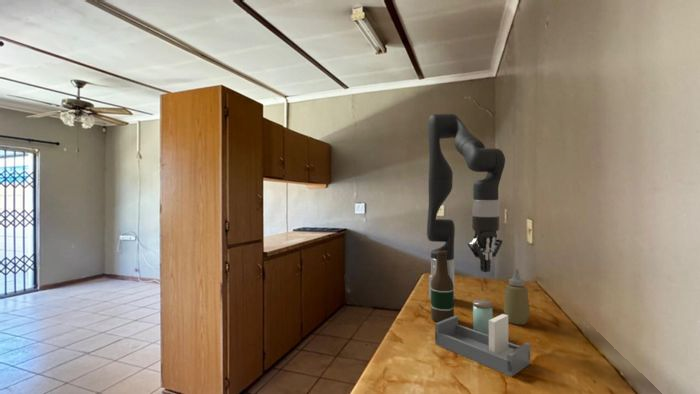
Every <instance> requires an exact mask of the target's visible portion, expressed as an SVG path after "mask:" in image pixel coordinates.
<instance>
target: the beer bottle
mask: <svg viewBox="0 0 700 394" xmlns="http://www.w3.org/2000/svg"><path fill="white" fill-rule="evenodd" d="M436 254H437V267H436V274H435V275H434V276H433V278H432V281H431V299H430V318H431V320H432V321H433V322H434V323H438V322H440V321H443V320H445V319H448V318H450V317H453V316H455V306H454V305H455V286H454V287H453V282H452V279H451V278H450V276H449V275H448V268H447V251H445V250H438V251H437V253H436Z"/></svg>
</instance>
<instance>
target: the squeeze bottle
mask: <svg viewBox="0 0 700 394" xmlns="http://www.w3.org/2000/svg"><path fill="white" fill-rule="evenodd" d="M504 293H505V294H504V300H503V301H504V302H503V312H504V313H503V314H505V315H508V323H511V324H514V325H518V326H519V325H526V324H527V323H528V320H529V318H530V315H531V311H530V309H531V308H530V303H529V302H530V301H529V293H528V288H527V287H526V286H525V280H524V279H522V278H521V275H520V271H519V268H514V269H513V273H512V277H511V278H509V279H508V284H507V285H505V292H504Z"/></svg>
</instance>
